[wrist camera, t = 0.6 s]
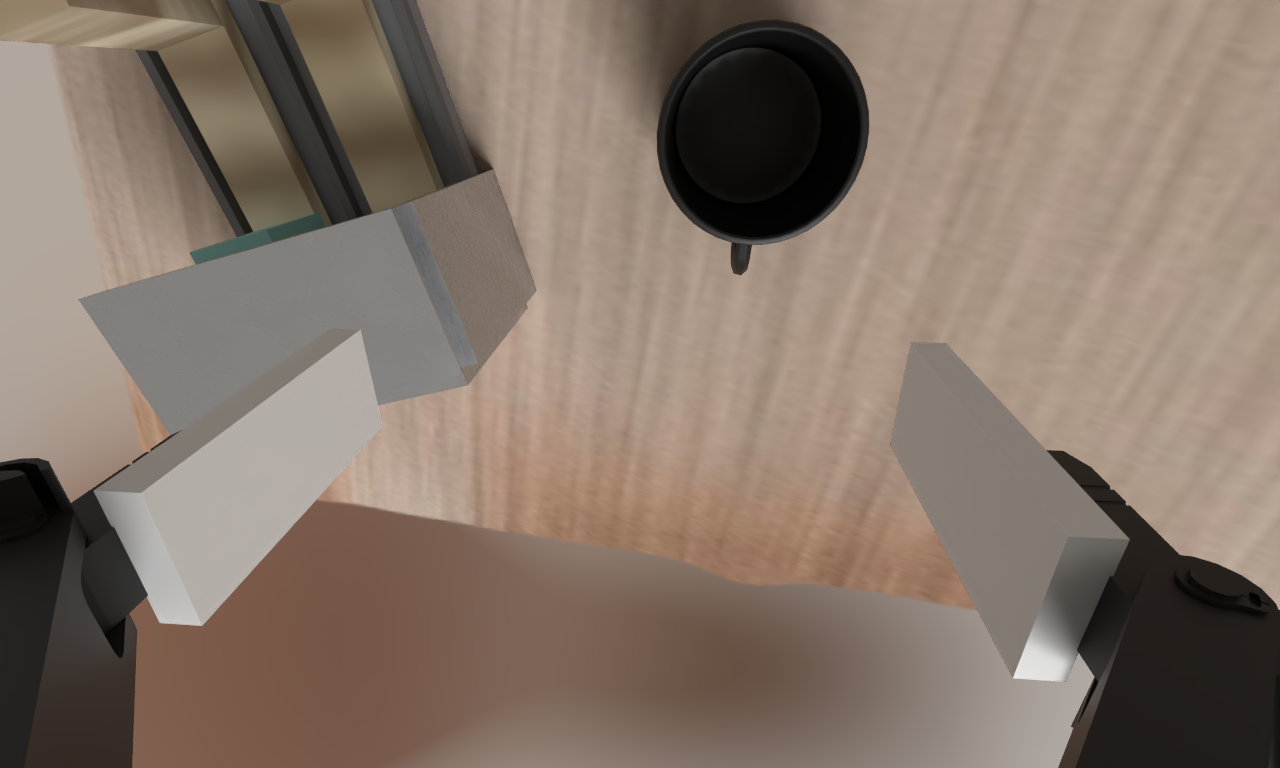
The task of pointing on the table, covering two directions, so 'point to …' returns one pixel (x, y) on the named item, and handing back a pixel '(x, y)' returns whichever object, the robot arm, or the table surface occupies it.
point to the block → (258, 238)
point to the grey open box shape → (330, 303)
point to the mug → (762, 134)
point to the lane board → (309, 114)
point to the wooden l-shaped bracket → (193, 87)
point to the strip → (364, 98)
